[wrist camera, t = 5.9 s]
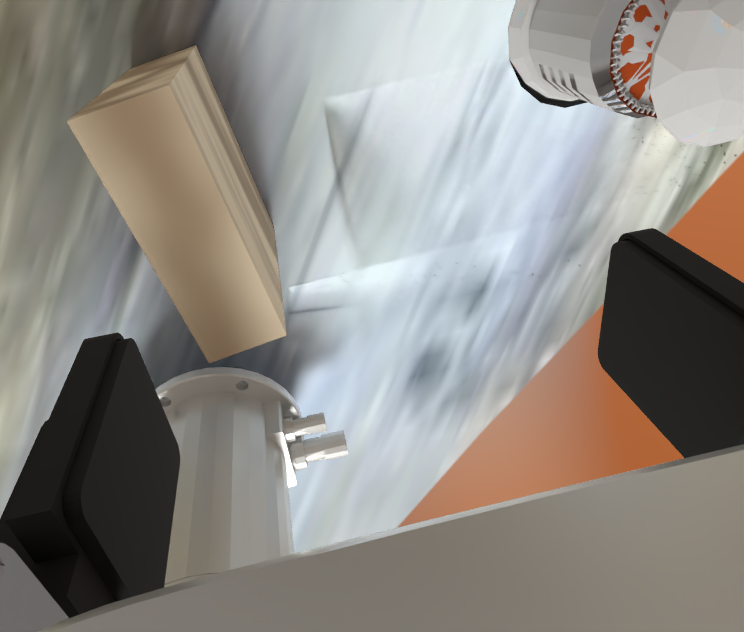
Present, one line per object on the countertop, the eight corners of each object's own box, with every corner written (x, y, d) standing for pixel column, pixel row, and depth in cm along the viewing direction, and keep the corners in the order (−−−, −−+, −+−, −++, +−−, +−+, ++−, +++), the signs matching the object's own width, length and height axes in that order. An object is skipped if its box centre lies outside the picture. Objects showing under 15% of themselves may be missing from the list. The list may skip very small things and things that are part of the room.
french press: (520, -67, 33) (1013, -141, 12) (695, -61, 35) (1384, -117, 14) (498, 109, 38) (815, 276, 17) (651, 105, 40) (1106, 250, 19)
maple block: (196, 45, 32) (168, 85, 21) (273, 227, 39) (286, 335, 27) (130, 68, 32) (66, 121, 21) (219, 246, 39) (209, 363, 27)
